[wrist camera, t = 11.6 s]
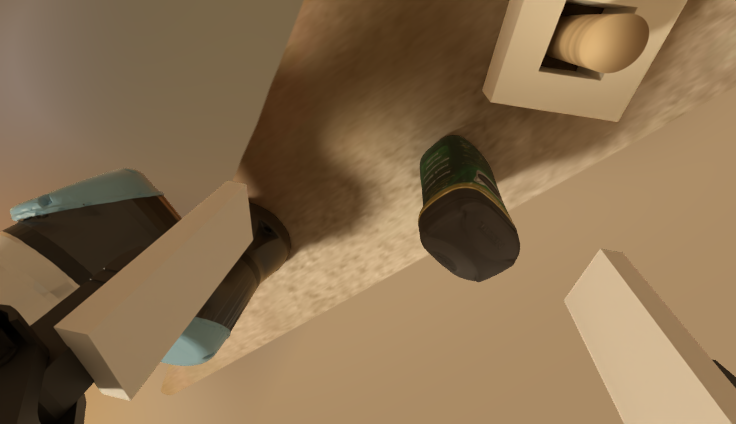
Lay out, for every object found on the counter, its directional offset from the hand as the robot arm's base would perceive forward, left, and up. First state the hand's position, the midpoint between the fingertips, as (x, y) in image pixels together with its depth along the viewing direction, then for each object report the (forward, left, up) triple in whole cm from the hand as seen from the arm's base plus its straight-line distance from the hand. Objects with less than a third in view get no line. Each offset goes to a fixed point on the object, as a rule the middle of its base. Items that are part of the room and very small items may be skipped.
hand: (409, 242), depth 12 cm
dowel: (+14, +7, -32) cm, 35 cm away
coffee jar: (+7, -10, -32) cm, 34 cm away
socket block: (+14, +7, -32) cm, 35 cm away
